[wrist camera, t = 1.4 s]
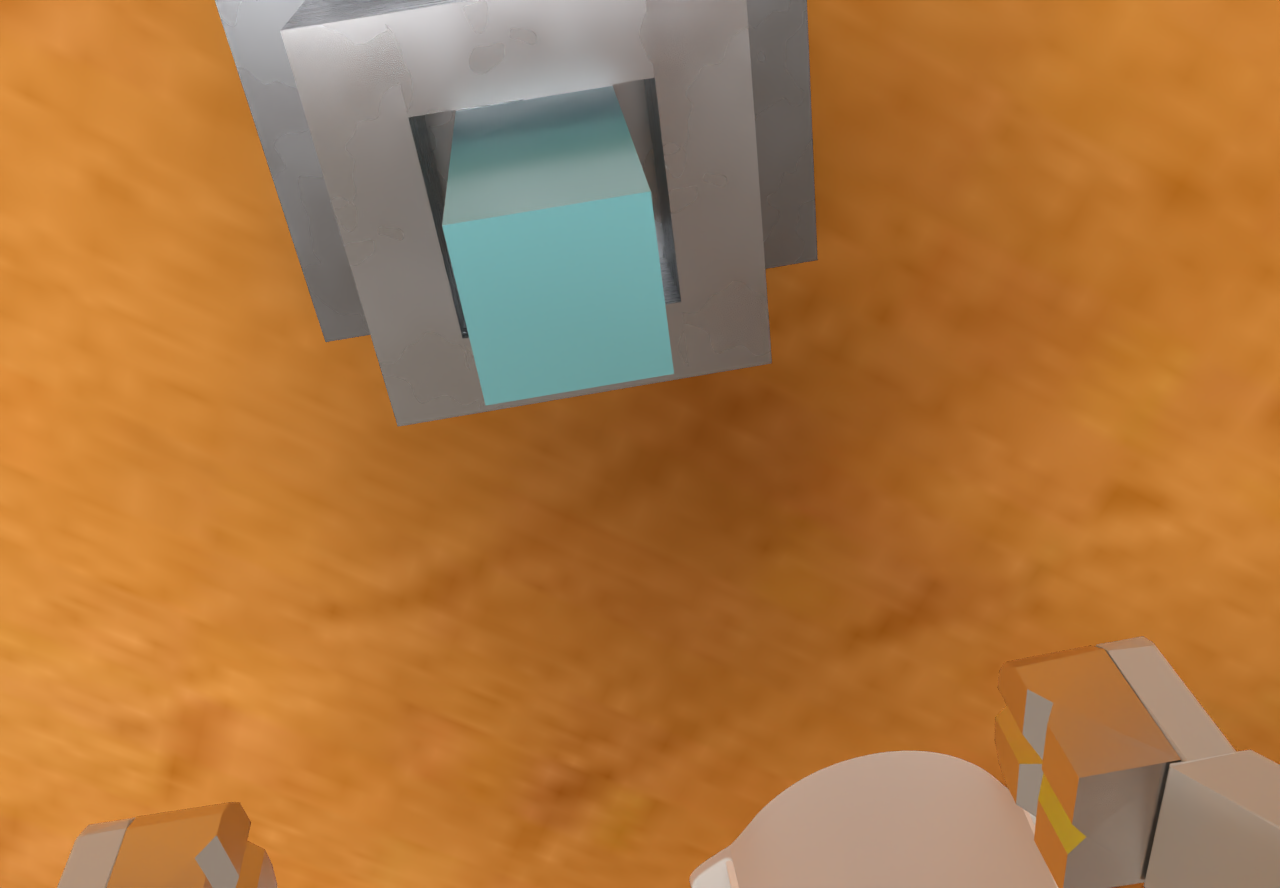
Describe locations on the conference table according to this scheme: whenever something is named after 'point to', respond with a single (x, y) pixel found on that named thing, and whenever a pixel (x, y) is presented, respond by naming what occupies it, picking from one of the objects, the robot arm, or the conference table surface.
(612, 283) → the plug
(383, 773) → the conference table surface
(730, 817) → the conference table surface
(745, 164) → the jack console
